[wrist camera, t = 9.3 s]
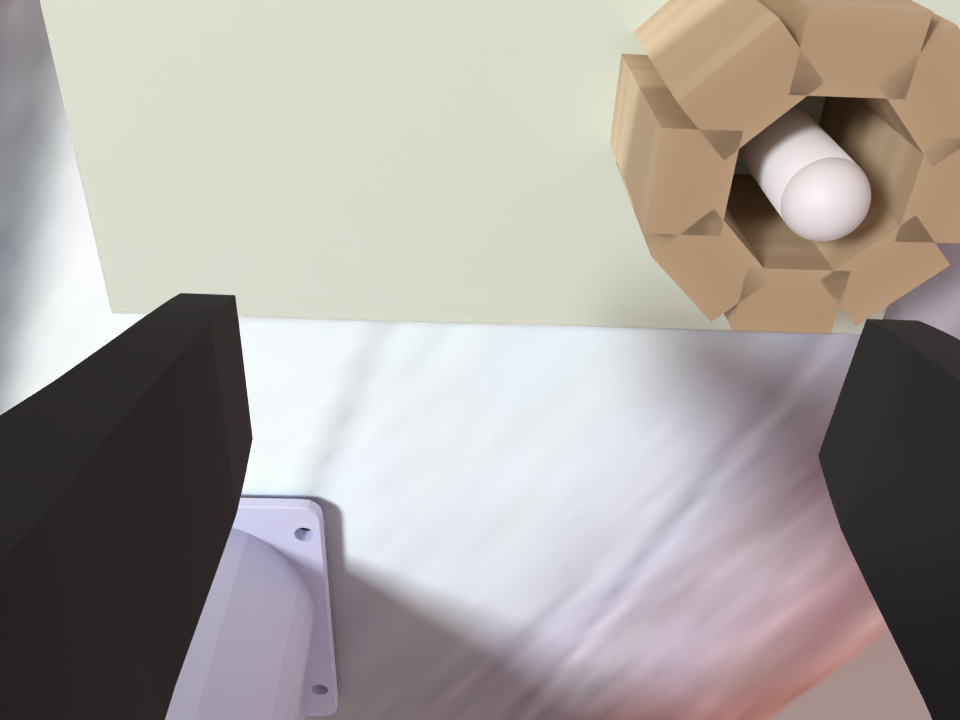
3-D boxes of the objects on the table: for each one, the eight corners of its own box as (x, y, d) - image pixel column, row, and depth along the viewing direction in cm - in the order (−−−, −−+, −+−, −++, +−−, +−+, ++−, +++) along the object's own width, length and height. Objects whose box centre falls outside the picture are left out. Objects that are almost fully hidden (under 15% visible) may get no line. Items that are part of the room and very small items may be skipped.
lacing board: (857, 307, 21) (982, 480, 16) (129, 286, 20) (17, 459, 15) (1023, -194, 15) (1303, -175, 10) (17, -243, 14) (-223, -249, 9)
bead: (846, 232, 18) (932, 336, 15) (599, 224, 18) (629, 327, 15) (929, -38, 15) (1058, 16, 12) (634, -51, 15) (682, 0, 12)
